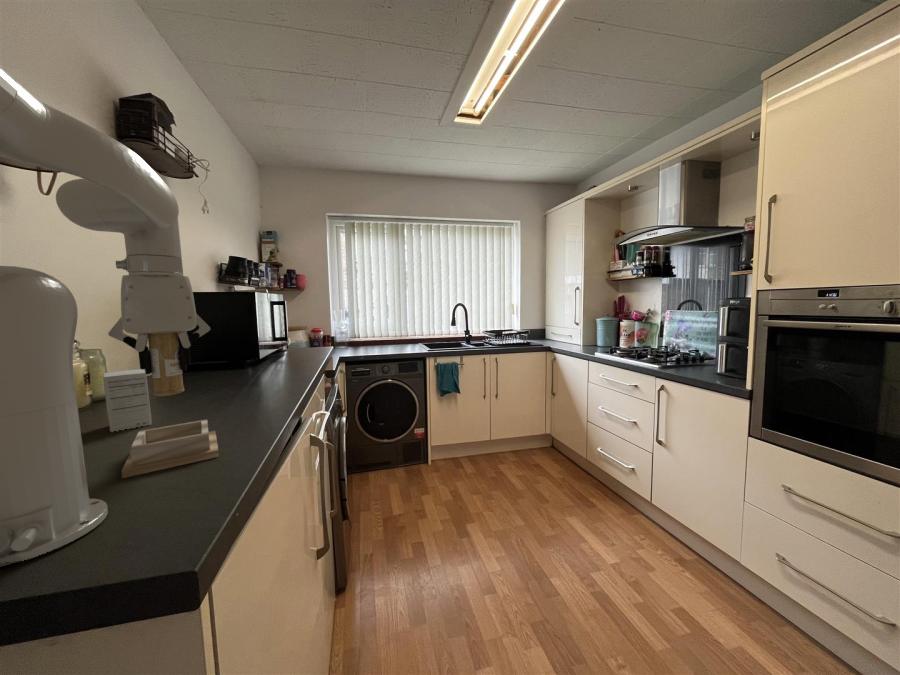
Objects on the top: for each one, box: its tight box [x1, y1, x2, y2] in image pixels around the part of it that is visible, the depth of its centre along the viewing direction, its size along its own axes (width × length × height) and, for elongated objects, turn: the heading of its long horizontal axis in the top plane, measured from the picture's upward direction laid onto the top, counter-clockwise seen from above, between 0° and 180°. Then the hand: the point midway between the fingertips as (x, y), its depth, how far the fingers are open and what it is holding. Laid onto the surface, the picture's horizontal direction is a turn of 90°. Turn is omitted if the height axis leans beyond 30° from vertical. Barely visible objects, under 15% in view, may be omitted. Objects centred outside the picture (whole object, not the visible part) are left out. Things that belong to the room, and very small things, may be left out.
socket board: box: [121, 419, 220, 479], centre depth 66 cm, size 13×13×4 cm
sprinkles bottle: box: [147, 332, 185, 397], centre depth 65 cm, size 5×5×14 cm
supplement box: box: [102, 368, 152, 433], centre depth 84 cm, size 7×7×13 cm
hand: (166, 370), depth 65 cm, fingers closed on sprinkles bottle, 4 cm apart
